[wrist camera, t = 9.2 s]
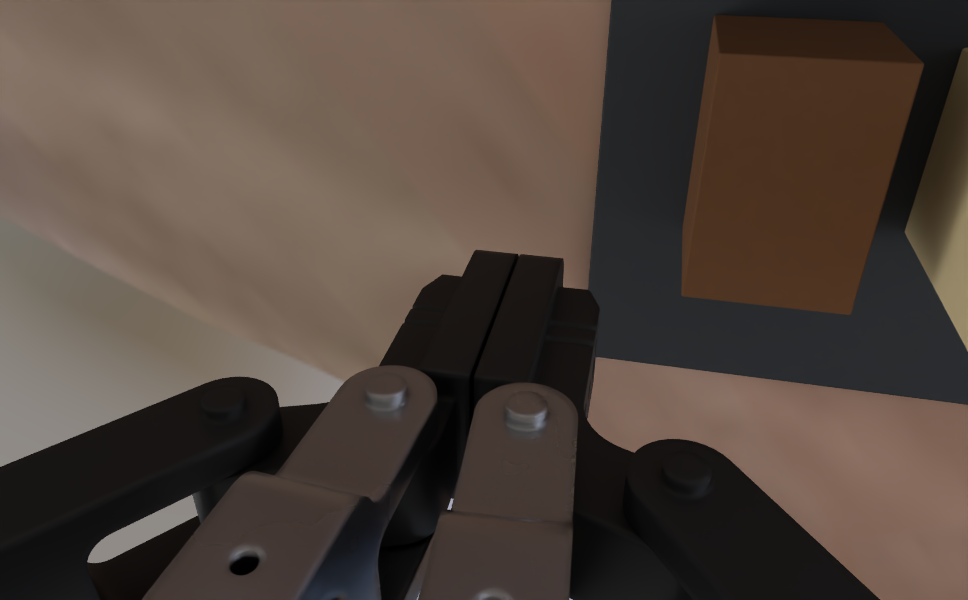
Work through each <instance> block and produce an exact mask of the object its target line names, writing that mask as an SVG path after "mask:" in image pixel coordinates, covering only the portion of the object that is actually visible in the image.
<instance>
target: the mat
mask: <svg viewBox="0 0 968 600" xmlns="http://www.w3.org/2000/svg"><path fill="white" fill-rule="evenodd" d="M963 48H968V0H612V1H611V14H610V26H609V38H608V51H607V63H606V75H605V88H604V100H603V112H602V125H601V137H600V150H599V162H598V174H597V187H596V199H595V211H594V224H593V236H592V249H591V261H590V273H589V286H588V290H590V291H591V293H592V295H593V296H594V298H595V300H596V302H597V304H598V305H599V307H600V314H599V325H598V336H597V347H596V357H602V358H610V359H618V360H625V361H633V362H641V363H649V364H657V365H664V366H672V367H680V368H688V369H695V370H703V371H711V372H719V373H726V374H734V375H742V376H750V377H757V378H765V379H773V380H781V381H788V382H796V383H804V384H812V385H820V386H827V387H835V388H843V389H851V390H858V391H866V392H874V393H882V394H889V395H897V396H905V397H913V398H920V399H928V400H936V401H944V402H951V403H959V404H967V405H968V351H967V349H966V347H965V345H964V343H963V341H962V339H961V338H960V336H959V334H958V332H957V330H956V328H955V326H954V324H953V323H952V321H951V319H950V317H949V315H948V313H947V311H946V309H945V307H944V306H943V304H942V302H941V300H940V298H939V296H938V294H937V292H936V291H935V289H934V287H933V285H932V283H931V281H930V279H929V277H928V275H927V274H926V272H925V270H924V268H923V266H922V264H921V262H920V260H919V259H918V257H917V255H916V253H915V251H914V249H913V247H912V245H911V243H910V242H909V240H908V238H907V236H906V234H905V229H906V226H907V223H908V219H909V216H910V213H911V210H912V207H913V204H914V200H915V197H916V194H917V191H918V188H919V185H920V181H921V178H922V175H923V172H924V169H925V166H926V162H927V159H928V156H929V153H930V150H931V147H932V143H933V140H934V137H935V134H936V131H937V128H938V125H939V121H940V118H941V115H942V112H943V109H944V106H945V102H946V99H947V96H948V93H949V90H950V87H951V83H952V80H953V77H954V74H955V71H956V68H957V64H958V61H959V58H960V55H961V52H962V50H963Z"/></svg>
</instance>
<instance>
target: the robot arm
mask: <svg viewBox="0 0 968 600" xmlns="http://www.w3.org/2000/svg"><path fill="white" fill-rule="evenodd" d="M563 272H564V261H563V258H553V257H543V256H533V255H524V254H521V255H520V256H518V254H512V253H502V252H492V251H483V250H475V251H474V253H473V255H472V257H471V259H470V261H469V263H468V265H467V267H466V270H465V272H464V274H463V276H462V277H460V276H451V275H441V276H440V277H438V278H437V279H435V280H434V281H433V282H431V283H430V284H428V285H427V286H425V287H424V288H422V290H421V292H420V294H419V295H418V297H417V299H416V301H415V303H414V304H413V309H411V310H410V312H409V313H408V315H407V317H406V319H405V323H403V324H402V326H401V328H400V329H399V331H398V333H397V335H396V336H395V338H394V340H393V342H392V344H391V345H390V347H389V349H388V351H387V353H386V354H385V356H384V358H383V360H382V361H381V363H380V365H379V366H378V367H373V368H370V369H366V370H364V371H361V372H359V373H357V374H355V375H354V376H352V377H350V378H349V379H348V380H347V381H345V382H344V384H343V385H342V386H341V387H340V388H339V390H338V391H337V393H336V394H335V395H334V397H333V398H332V399H331V401H330V402H327V403H321V404H311V405H300V406H288V407H279V402H278V397H277V394H276V392H275V390H274V389H273V388H272V387H271V386H270V385H269V384H267V383H265V382H264V381H261V380H258V379H255V378H250V377H229V378H222V379H218V380H214V381H211V382H208V383H205V384H203V385H201V386H198V387H195V388H193V389H191V390H188V391H186V392H183V393H181V394H178V395H176V396H173V397H171V398H168V399H166V400H164V401H161V402H159V403H156V404H154V405H151V406H149V407H146V408H144V409H142V410H139V411H137V412H134V413H132V414H129V415H127V416H124V417H122V418H119V419H117V420H115V421H112V422H110V423H107V424H105V425H102V426H100V427H97V428H95V429H92V430H90V431H87V432H85V433H83V434H80V435H78V436H76V437H73V438H70V439H68V440H65V441H63V442H60V443H58V444H56V445H53V446H51V447H48V448H46V449H43V450H41V451H39V452H36V453H34V454H31V455H29V456H26V457H24V458H21V459H19V460H17V461H14V462H11V463H9V464H7V465H4V466H2V467H0V600H416V599H417V597H418V595H419V598H418V600H569V598H571V599H573V600H880V599H879V598H878V597H877V596H875V595H874V594H873V593H872V592H871V591H870V590H869V589H868V588H867V587H866V586H865V585H864V584H863V583H861V582H860V581H859V580H858V579H857V578H856V577H855V576H854V575H853V574H852V573H851V572H850V571H849V570H847V569H846V568H845V567H844V566H843V565H842V564H841V563H840V562H839V561H838V560H837V559H836V558H835V557H834V556H832V555H831V554H830V553H829V552H828V551H827V550H826V549H825V548H824V547H823V546H822V545H821V544H820V543H818V542H817V541H816V540H815V539H814V538H813V537H812V536H811V535H810V534H809V533H808V532H807V531H806V530H804V529H803V528H802V527H801V526H800V525H799V524H798V523H797V522H796V521H795V520H794V519H793V518H792V517H790V516H789V515H788V514H787V513H786V512H785V511H784V510H783V509H782V508H781V507H780V506H779V505H778V504H776V503H775V502H774V501H773V500H772V499H771V498H770V497H769V496H768V495H767V494H766V493H765V492H764V491H762V490H761V489H760V488H759V487H758V486H757V485H756V484H755V483H754V482H753V481H752V480H751V479H750V478H749V477H747V476H746V475H745V474H744V473H743V472H742V471H741V470H740V469H739V468H738V467H737V466H736V465H735V464H733V463H732V462H731V461H730V460H729V459H728V458H727V457H725V456H724V455H723V454H721V453H720V452H718V451H716V450H715V449H712V448H710V447H708V446H706V445H703V444H700V443H697V442H693V441H689V440H681V439H665V440H658V441H655V442H651V443H649V444H646V445H644V446H642V447H641V448H640V449H638V450H637V451H636V452H635V453H633V452H631V451H628V450H625V449H623V448H621V447H618V446H616V445H614V444H612V443H610V442H609V441H607V440H605V439H604V438H603V437H601V436H600V435H599V434H598V433H597V432H596V431H595V430H594V429H593V428H592V427H591V425H590V424H589V422H588V421H587V418H588V412H589V406H590V399H591V393H592V387H593V380H594V369H595V358H596V347H597V336H598V325H599V314H600V307H599V305H598V304H597V302H596V300H595V298H594V296H593V295H592V293H591V291H590V290H582V289H573V288H564V287H563ZM190 495H193V498H194V502H195V506H196V509H197V513H198V516H196V517H194V518H192V519H190V520H188V521H186V522H184V523H182V524H180V525H178V526H176V527H174V528H172V529H170V530H168V531H166V532H164V533H162V534H160V535H158V536H156V537H154V538H152V539H150V540H148V541H146V542H145V543H142V544H140V545H138V546H136V547H134V548H132V549H130V550H128V551H126V552H124V553H122V554H120V555H118V556H116V557H114V558H113V559H110V560H108V561H105V562H101V563H88V562H87V560H88V556H89V554H90V552H91V551H92V549H93V548H94V547H95V545H96V544H97V543H98V542H99V541H101V540H102V539H103V538H105V537H106V536H108V535H109V534H111V533H113V532H115V531H117V530H119V529H121V528H124V527H126V526H127V525H130V524H132V523H134V522H136V521H138V520H140V519H142V518H144V517H146V516H148V515H150V514H152V513H155V512H156V511H158V510H161V509H163V508H165V507H167V506H169V505H171V504H173V503H175V502H177V501H179V500H181V499H184V498H186V497H188V496H190ZM451 498H452V499H454V500H453V504H452V508H451V510H447V508H448V505H449V503H450V499H451ZM419 593H420V594H419Z"/></svg>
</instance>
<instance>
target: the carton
mask: <svg viewBox="0 0 968 600" xmlns="http://www.w3.org/2000/svg"><path fill="white" fill-rule="evenodd" d="M905 234H906V236H907V238H908V240H909V242H910V243H911V245H912V247H913V249H914V251H915V253H916V255H917V257H918V259H919V260H920V262H921V264H922V266H923V268H924V270H925V272H926V274H927V275H928V277H929V279H930V281H931V283H932V285H933V287H934V289H935V291H936V292H937V294H938V296H939V298H940V300H941V302H942V304H943V306H944V307H945V309H946V311H947V313H948V315H949V317H950V319H951V321H952V323H953V324H954V326H955V328H956V330H957V332H958V334H959V336H960V338H961V339H962V341H963V343H964V345H965V347H966V349H967V351H968V48H963V50H962V52H961V55H960V58H959V61H958V64H957V68H956V71H955V74H954V77H953V80H952V83H951V87H950V90H949V93H948V96H947V99H946V102H945V106H944V109H943V112H942V115H941V118H940V121H939V125H938V128H937V131H936V134H935V137H934V140H933V143H932V147H931V150H930V153H929V156H928V159H927V162H926V166H925V169H924V172H923V175H922V178H921V181H920V185H919V188H918V191H917V194H916V197H915V200H914V204H913V207H912V210H911V213H910V216H909V219H908V223H907V226H906V229H905Z"/></svg>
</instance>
